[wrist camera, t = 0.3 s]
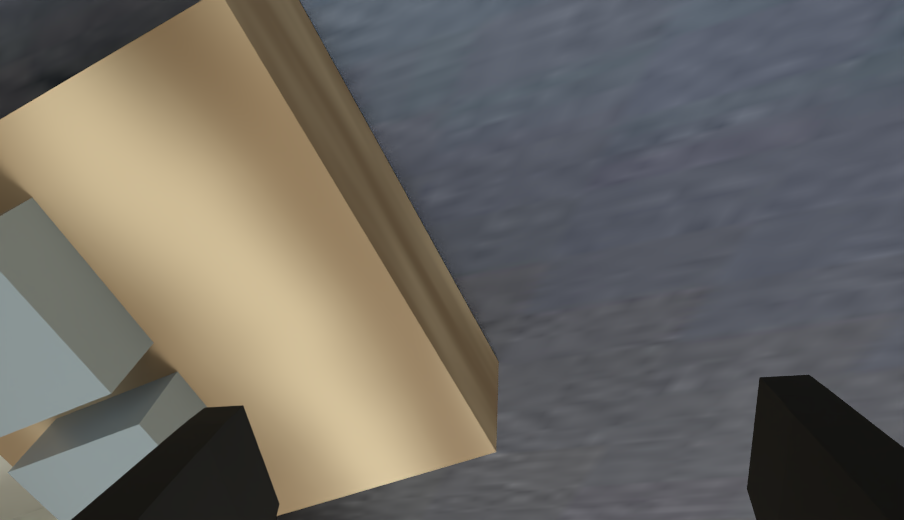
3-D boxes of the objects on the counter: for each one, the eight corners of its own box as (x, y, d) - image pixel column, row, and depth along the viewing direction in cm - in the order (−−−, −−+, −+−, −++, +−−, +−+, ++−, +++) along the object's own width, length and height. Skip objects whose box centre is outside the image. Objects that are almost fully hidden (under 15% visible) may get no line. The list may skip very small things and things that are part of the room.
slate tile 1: (31, 197, 15) (-33, 235, 13) (153, 342, 16) (111, 393, 15) (-95, 265, 16) (-170, 308, 14) (31, 393, 18) (-22, 445, 16)
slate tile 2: (177, 371, 17) (138, 424, 15) (270, 483, 19) (245, 541, 17) (56, 419, 18) (7, 472, 16) (154, 519, 20) (119, 577, 18)
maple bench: (284, -27, 16) (219, -10, 12) (498, 361, 21) (495, 451, 17) (-88, 189, 19) (-220, 248, 16) (171, 471, 25) (115, 563, 21)
